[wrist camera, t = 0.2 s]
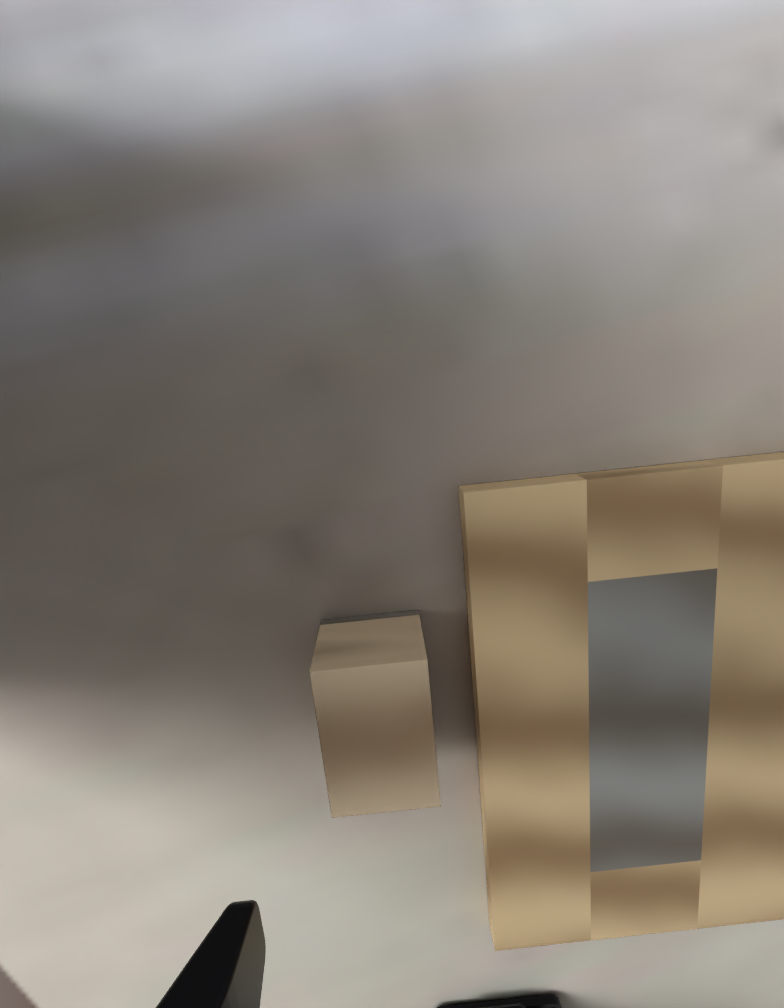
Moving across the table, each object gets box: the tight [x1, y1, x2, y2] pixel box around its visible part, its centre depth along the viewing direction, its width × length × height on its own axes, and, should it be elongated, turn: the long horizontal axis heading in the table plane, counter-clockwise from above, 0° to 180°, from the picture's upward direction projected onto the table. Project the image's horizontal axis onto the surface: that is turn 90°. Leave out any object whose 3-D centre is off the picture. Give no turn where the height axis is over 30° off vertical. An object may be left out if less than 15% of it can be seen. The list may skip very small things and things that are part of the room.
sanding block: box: [310, 610, 441, 818], centre depth 20 cm, size 6×4×4 cm, turn 6°
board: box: [459, 452, 784, 951], centre depth 22 cm, size 22×14×1 cm, turn 6°
